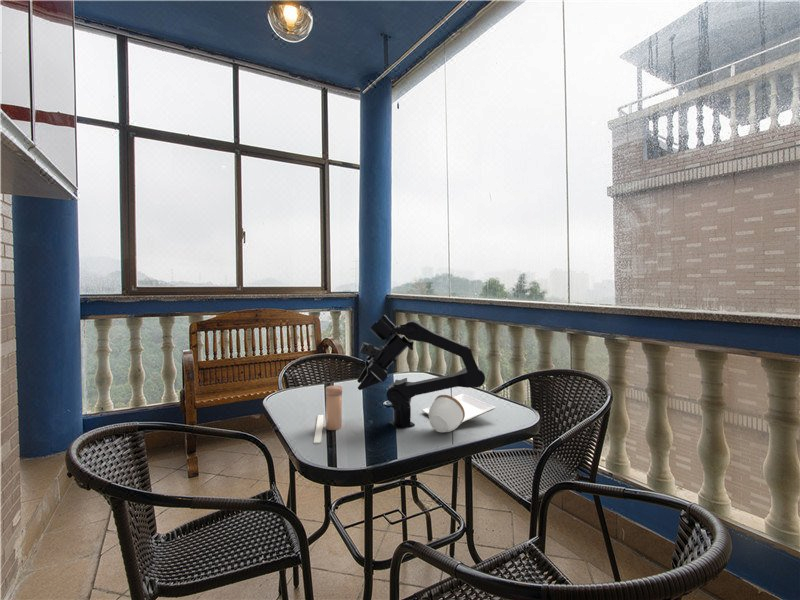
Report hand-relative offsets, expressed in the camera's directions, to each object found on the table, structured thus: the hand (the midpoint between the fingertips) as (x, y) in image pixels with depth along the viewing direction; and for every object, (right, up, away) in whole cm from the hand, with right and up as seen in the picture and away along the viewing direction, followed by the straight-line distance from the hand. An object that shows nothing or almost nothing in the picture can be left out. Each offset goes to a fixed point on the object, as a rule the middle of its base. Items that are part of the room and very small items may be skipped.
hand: (358, 385), depth 129 cm
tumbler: (-8, -13, -1) cm, 15 cm away
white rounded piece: (+25, -10, -9) cm, 28 cm away
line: (-12, -13, -2) cm, 18 cm away
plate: (+34, -12, +10) cm, 37 cm away
